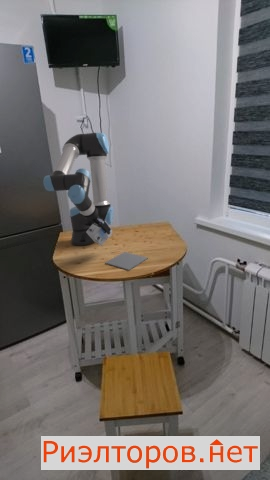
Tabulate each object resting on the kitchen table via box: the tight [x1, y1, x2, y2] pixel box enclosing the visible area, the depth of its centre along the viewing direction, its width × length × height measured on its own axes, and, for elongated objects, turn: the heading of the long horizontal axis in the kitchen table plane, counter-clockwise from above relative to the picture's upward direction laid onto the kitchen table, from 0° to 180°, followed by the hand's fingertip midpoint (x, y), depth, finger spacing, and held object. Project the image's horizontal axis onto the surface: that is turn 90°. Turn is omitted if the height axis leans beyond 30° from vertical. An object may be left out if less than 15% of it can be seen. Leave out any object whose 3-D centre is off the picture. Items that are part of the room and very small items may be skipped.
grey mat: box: [104, 251, 149, 271], centre depth 149 cm, size 16×16×1 cm
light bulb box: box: [86, 221, 114, 246], centre depth 153 cm, size 11×7×11 cm
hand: (105, 233), depth 158 cm, fingers closed on light bulb box, 7 cm apart
